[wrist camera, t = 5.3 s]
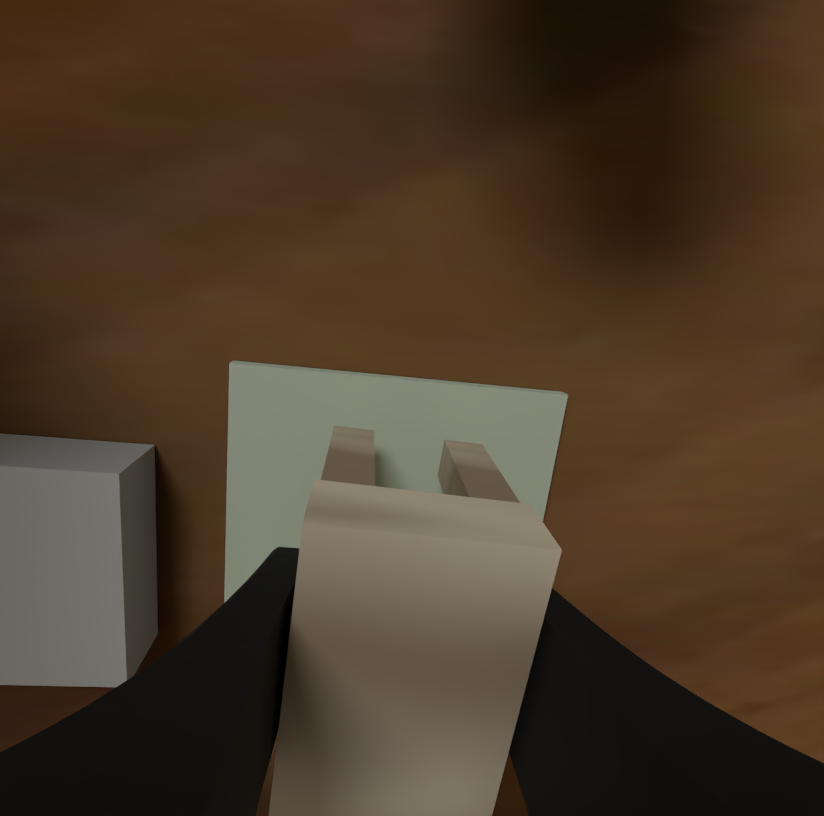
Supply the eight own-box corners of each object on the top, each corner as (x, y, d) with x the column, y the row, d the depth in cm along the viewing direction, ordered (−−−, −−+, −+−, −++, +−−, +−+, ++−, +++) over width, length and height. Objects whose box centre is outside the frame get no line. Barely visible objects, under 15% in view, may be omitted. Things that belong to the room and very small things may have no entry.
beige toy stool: (445, 637, 14) (486, 836, 9) (304, 626, 14) (267, 829, 9) (486, 441, 13) (561, 549, 8) (330, 420, 12) (302, 523, 7)
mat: (233, 360, 13) (229, 363, 13) (562, 391, 14) (568, 395, 14) (227, 621, 15) (223, 630, 15) (515, 632, 16) (518, 641, 16)
